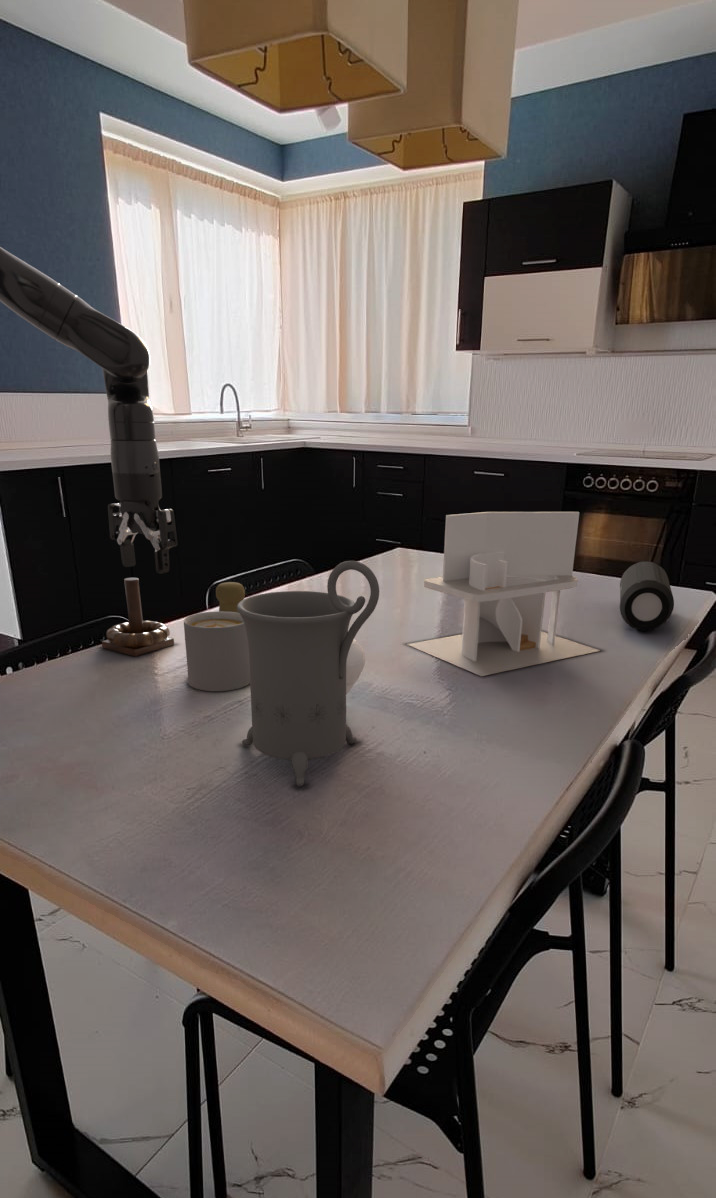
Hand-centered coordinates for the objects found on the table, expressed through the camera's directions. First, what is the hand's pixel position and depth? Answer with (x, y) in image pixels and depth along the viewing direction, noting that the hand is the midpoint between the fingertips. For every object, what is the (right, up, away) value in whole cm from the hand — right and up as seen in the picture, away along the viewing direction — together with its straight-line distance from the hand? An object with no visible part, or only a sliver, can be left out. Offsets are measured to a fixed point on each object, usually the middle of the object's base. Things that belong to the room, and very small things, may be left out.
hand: (145, 569), depth 131 cm
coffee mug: (+15, -19, -8) cm, 26 cm away
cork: (+13, -11, +11) cm, 20 cm away
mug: (+30, -31, -36) cm, 56 cm away
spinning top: (+33, -24, -19) cm, 45 cm away
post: (-3, -12, +8) cm, 15 cm away
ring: (-3, -10, +7) cm, 13 cm away
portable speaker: (+96, -4, +29) cm, 100 cm away
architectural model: (+63, -12, +9) cm, 65 cm away
